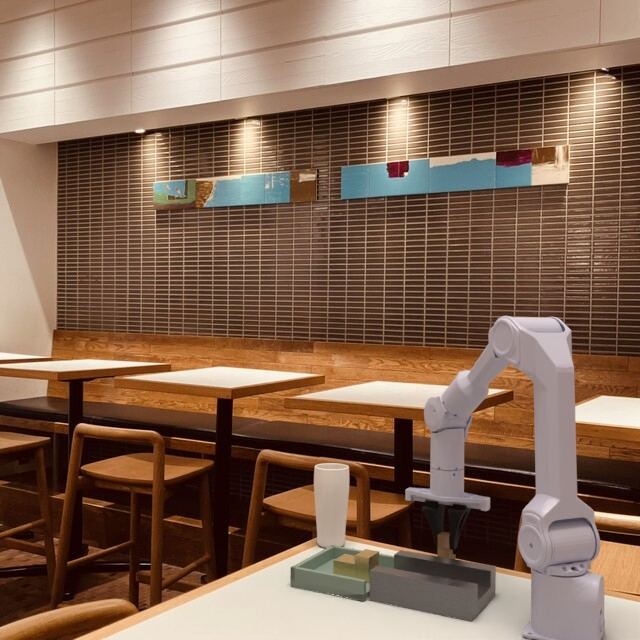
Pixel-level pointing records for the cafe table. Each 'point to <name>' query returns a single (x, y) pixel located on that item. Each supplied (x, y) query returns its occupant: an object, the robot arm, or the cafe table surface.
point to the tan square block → (365, 564)
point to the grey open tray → (434, 584)
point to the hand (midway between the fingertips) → (446, 547)
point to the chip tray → (321, 578)
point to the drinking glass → (331, 503)
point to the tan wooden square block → (344, 565)
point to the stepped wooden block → (444, 546)
